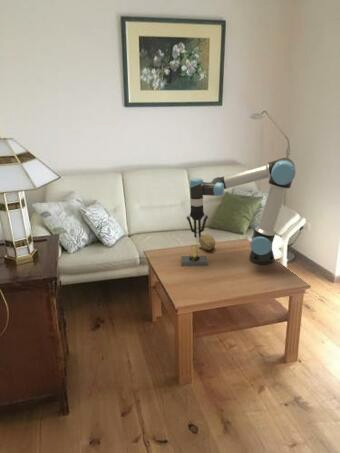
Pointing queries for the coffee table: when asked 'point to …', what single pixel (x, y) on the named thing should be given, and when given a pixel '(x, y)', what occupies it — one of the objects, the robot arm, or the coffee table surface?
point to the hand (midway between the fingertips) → (197, 242)
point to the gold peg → (194, 252)
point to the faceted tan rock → (207, 241)
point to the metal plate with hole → (187, 261)
